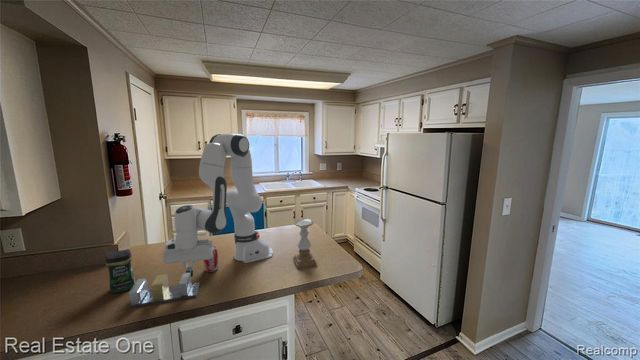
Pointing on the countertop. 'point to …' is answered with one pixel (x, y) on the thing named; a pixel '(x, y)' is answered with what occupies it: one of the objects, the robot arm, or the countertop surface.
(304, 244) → the candle holder
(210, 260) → the soda can
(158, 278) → the brass block
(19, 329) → the countertop surface
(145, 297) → the vise bed
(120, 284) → the coffee jar
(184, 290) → the lever
